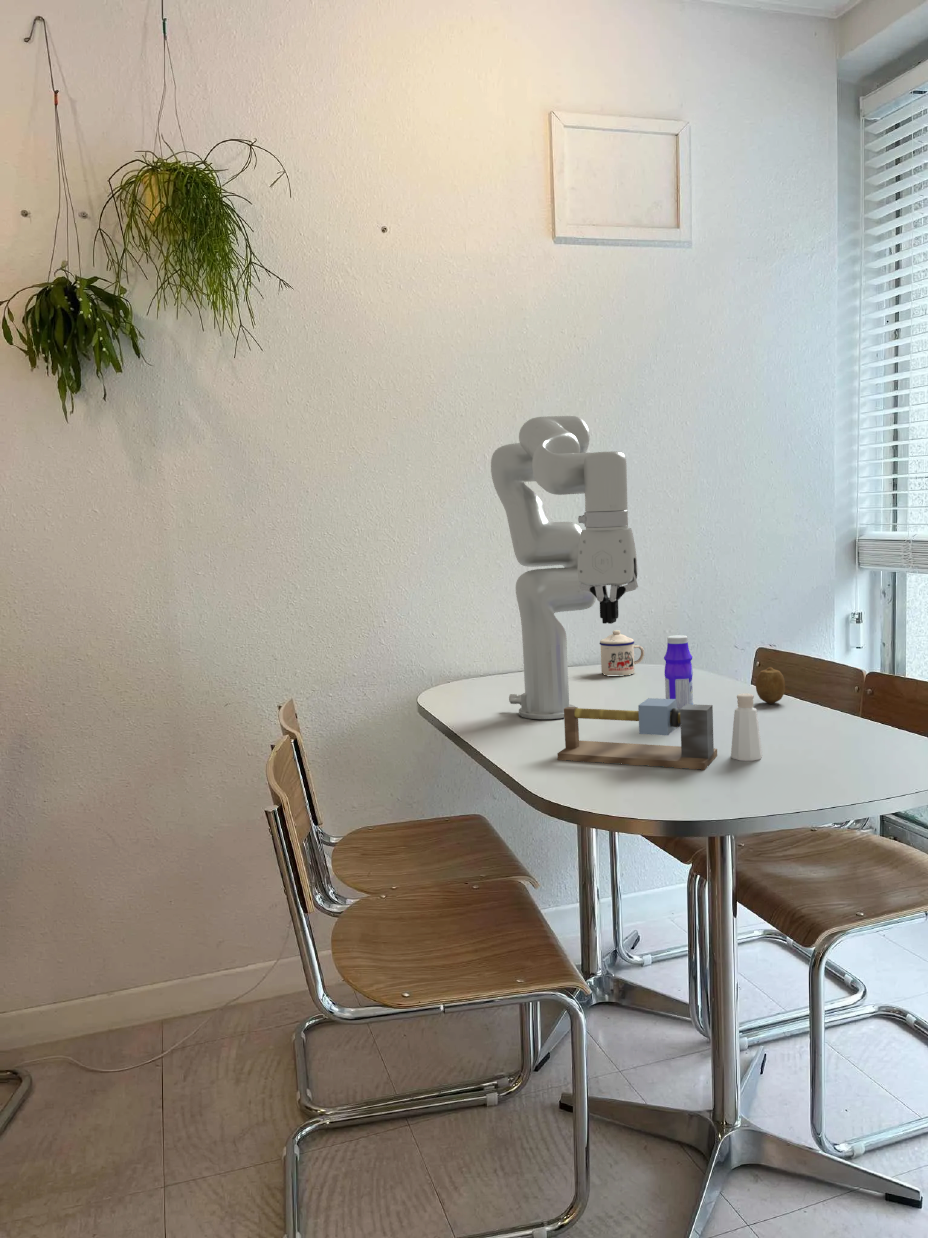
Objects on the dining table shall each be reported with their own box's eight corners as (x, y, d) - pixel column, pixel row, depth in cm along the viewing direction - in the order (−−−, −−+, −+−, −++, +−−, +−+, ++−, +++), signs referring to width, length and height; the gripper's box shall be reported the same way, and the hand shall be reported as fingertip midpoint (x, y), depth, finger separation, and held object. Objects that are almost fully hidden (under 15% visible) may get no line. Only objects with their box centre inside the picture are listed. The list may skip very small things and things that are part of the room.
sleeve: (639, 733, 168) (638, 705, 168) (649, 725, 174) (648, 698, 173) (667, 735, 166) (667, 706, 165) (677, 727, 172) (676, 699, 171)
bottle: (694, 724, 196) (692, 638, 194) (665, 724, 197) (663, 638, 195) (693, 716, 203) (691, 633, 201) (665, 716, 204) (663, 634, 202)
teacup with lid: (607, 678, 253) (605, 633, 252) (596, 673, 262) (594, 630, 260) (651, 674, 255) (649, 630, 254) (638, 669, 264) (637, 626, 263)
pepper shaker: (727, 754, 171) (725, 692, 170) (758, 752, 171) (756, 690, 170) (734, 762, 166) (733, 698, 165) (766, 760, 166) (765, 696, 165)
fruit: (782, 700, 214) (781, 664, 213) (788, 706, 208) (788, 668, 207) (753, 701, 215) (752, 665, 214) (758, 706, 209) (758, 670, 208)
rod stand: (557, 759, 174) (555, 707, 172) (576, 746, 182) (574, 696, 181) (704, 770, 162) (703, 713, 161) (717, 755, 171) (715, 702, 170)
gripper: (560, 523, 175) (563, 624, 178) (640, 521, 168) (643, 626, 171) (574, 521, 182) (578, 619, 184) (653, 519, 175) (655, 620, 177)
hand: (609, 622), depth 178 cm, fingers closed
